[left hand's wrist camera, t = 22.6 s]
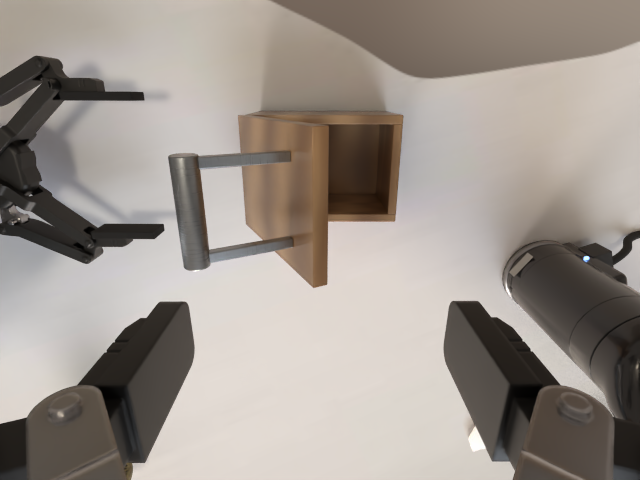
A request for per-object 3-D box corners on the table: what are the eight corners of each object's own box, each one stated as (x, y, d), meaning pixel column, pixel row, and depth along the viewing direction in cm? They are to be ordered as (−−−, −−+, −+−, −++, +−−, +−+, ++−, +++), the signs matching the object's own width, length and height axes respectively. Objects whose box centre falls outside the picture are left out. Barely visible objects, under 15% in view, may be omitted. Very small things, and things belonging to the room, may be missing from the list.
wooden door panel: (329, 125, 21) (172, 131, 18) (327, 284, 25) (197, 317, 21) (249, 115, 33) (147, 116, 30) (256, 222, 37) (166, 236, 33)
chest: (386, 111, 43) (403, 114, 34) (381, 198, 46) (395, 221, 37) (260, 111, 42) (244, 114, 34) (264, 198, 46) (252, 221, 37)
